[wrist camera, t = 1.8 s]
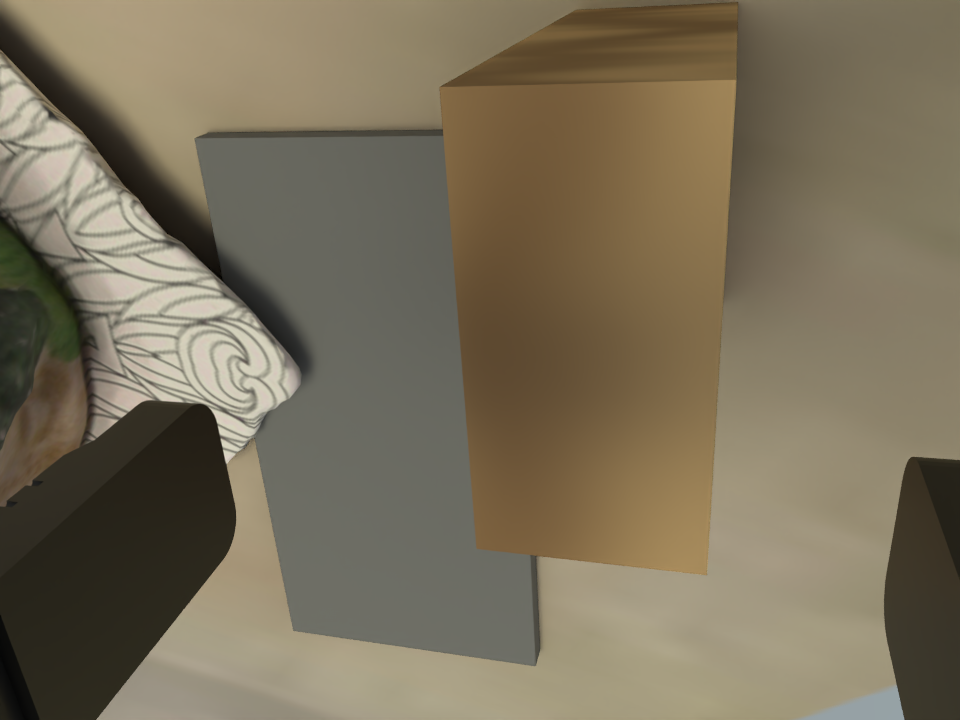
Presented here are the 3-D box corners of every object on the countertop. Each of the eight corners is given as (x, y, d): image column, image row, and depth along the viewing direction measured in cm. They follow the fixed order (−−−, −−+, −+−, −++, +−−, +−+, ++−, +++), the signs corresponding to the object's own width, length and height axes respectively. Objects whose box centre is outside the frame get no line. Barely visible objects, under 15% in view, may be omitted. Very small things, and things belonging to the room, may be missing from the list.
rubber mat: (516, 129, 24) (510, 135, 24) (539, 650, 33) (535, 666, 32) (208, 133, 27) (194, 138, 26) (302, 616, 35) (293, 630, 34)
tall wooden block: (738, 2, 22) (736, 80, 11) (720, 304, 25) (706, 575, 15) (576, 9, 23) (439, 87, 12) (580, 298, 26) (476, 548, 16)
